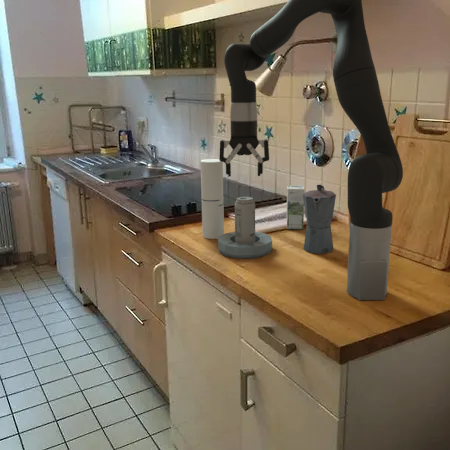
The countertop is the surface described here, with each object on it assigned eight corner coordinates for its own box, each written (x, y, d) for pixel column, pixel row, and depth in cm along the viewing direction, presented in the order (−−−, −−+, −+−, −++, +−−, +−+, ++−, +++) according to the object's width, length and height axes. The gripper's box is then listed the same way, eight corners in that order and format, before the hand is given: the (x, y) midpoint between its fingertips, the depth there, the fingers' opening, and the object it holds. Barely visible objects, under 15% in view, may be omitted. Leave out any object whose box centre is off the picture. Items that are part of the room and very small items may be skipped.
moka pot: (299, 256, 145) (300, 188, 140) (304, 240, 160) (305, 178, 154) (332, 258, 143) (335, 189, 137) (334, 241, 157) (337, 179, 152)
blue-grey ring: (273, 258, 144) (273, 246, 143) (217, 259, 144) (217, 247, 143) (269, 241, 159) (269, 230, 158) (218, 241, 159) (218, 231, 158)
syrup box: (302, 225, 176) (303, 184, 172) (303, 230, 170) (304, 188, 166) (286, 225, 177) (287, 184, 173) (286, 229, 171) (287, 188, 167)
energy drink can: (255, 249, 148) (255, 200, 144) (235, 250, 148) (234, 200, 144) (254, 243, 154) (254, 195, 150) (234, 243, 154) (234, 196, 150)
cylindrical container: (199, 234, 168) (196, 160, 161) (218, 231, 171) (217, 158, 164) (207, 240, 162) (205, 163, 155) (227, 236, 164) (226, 161, 158)
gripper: (218, 120, 137) (219, 178, 142) (270, 119, 137) (269, 177, 142) (218, 118, 145) (220, 174, 149) (268, 117, 144) (267, 173, 149)
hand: (244, 175), depth 145 cm, fingers open, 8 cm apart
